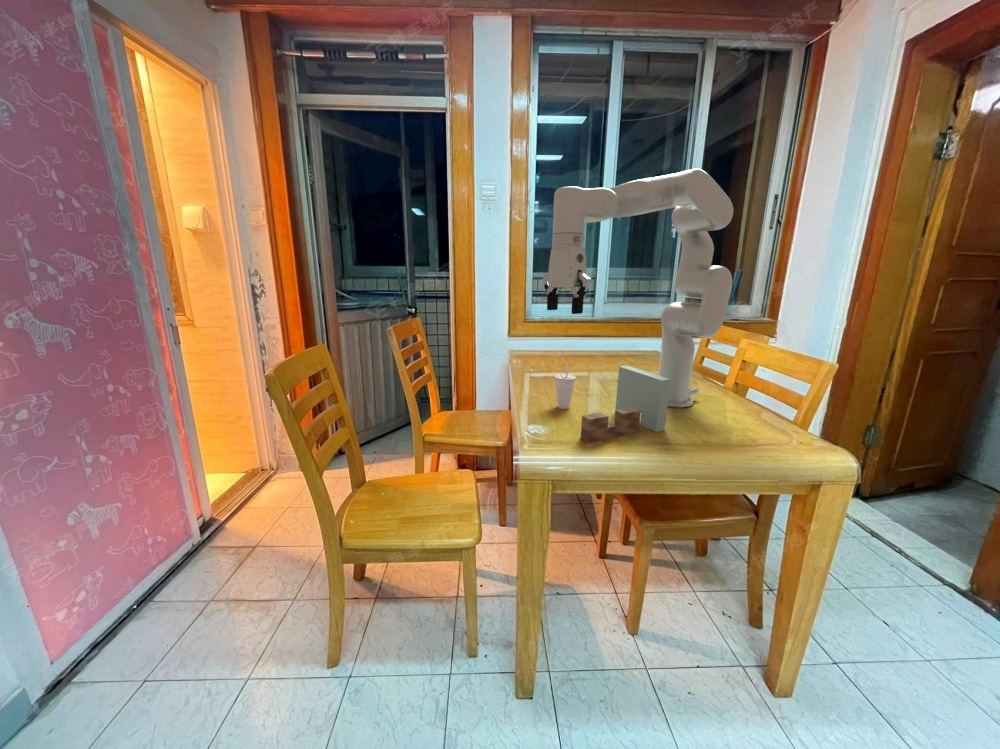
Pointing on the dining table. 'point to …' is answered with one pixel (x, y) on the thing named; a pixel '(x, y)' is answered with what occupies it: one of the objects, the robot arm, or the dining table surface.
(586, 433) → the brown long block
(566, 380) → the smoothie
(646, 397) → the cross plate
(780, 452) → the dining table surface
